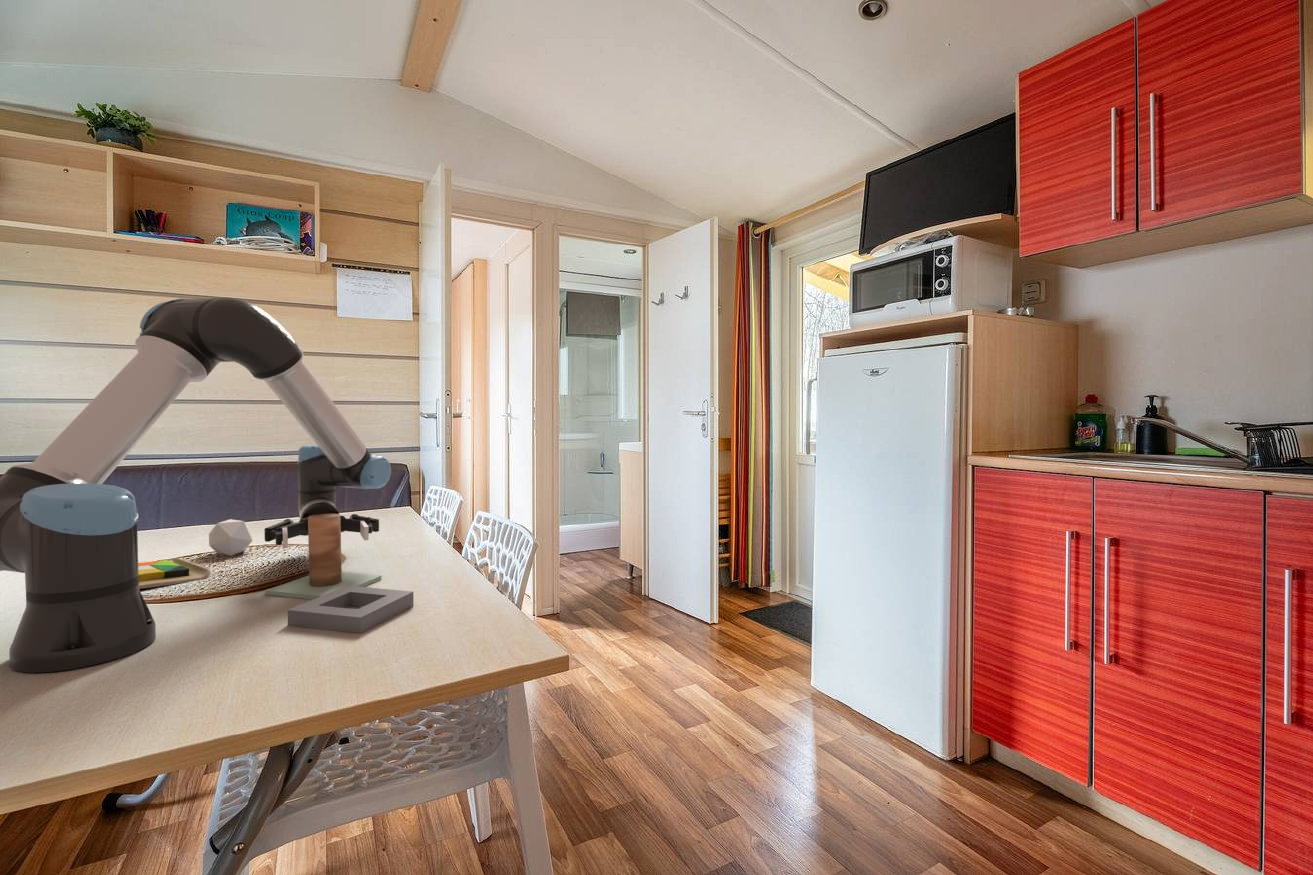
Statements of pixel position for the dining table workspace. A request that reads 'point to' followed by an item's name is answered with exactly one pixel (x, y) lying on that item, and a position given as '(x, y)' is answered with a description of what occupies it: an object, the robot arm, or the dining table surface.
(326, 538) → the brown wooden cylinder
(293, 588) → the board
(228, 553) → the die
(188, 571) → the wooden puzzle
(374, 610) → the pocket plate
